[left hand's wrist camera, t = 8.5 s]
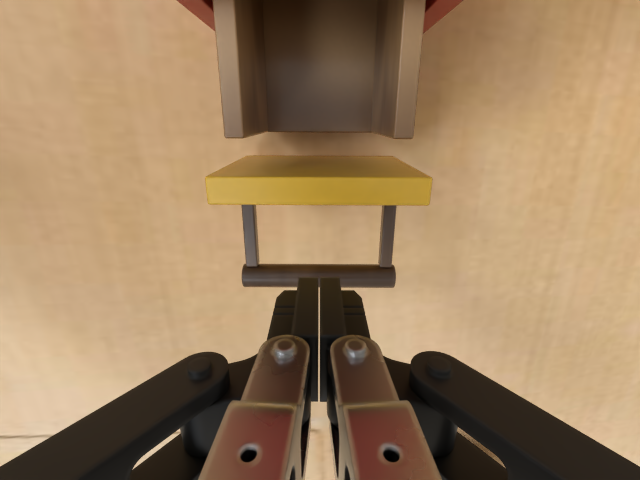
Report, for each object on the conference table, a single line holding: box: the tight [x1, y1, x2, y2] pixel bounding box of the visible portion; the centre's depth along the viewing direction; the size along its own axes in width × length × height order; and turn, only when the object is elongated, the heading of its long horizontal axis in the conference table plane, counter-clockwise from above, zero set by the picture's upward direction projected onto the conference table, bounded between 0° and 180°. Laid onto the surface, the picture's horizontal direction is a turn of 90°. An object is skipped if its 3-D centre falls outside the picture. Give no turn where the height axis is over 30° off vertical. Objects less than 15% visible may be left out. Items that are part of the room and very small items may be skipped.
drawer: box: [205, 0, 432, 288], centre depth 16 cm, size 22×9×8 cm, turn 0°
